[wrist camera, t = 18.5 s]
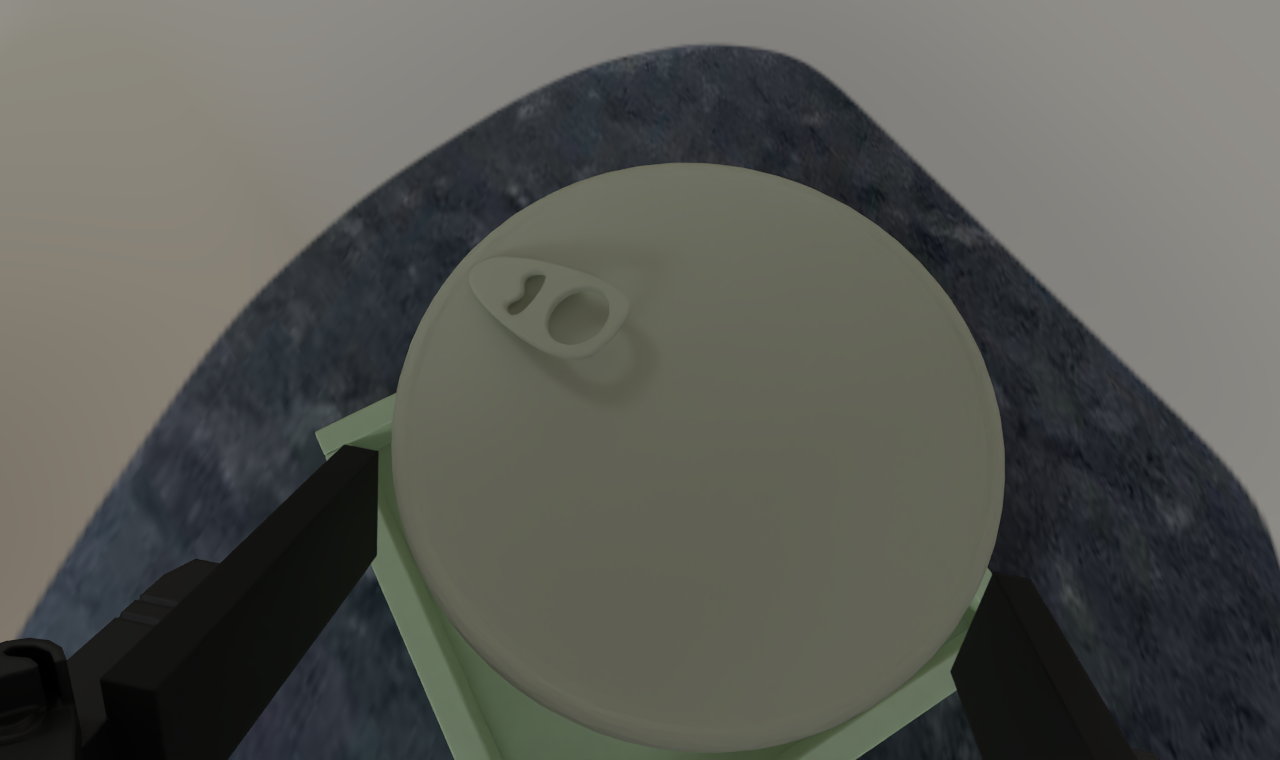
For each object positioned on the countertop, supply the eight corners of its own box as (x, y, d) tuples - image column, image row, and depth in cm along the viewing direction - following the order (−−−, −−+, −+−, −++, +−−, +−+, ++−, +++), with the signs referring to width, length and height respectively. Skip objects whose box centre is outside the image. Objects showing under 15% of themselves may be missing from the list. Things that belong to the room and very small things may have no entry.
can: (616, 341, 24) (618, 53, 13) (867, 497, 22) (1123, 323, 11) (435, 584, 21) (229, 486, 10) (709, 785, 19) (841, 945, 8)
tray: (998, 638, 21) (1037, 635, 19) (553, 942, 18) (545, 974, 16) (733, 258, 26) (742, 224, 24) (339, 452, 23) (313, 431, 21)
